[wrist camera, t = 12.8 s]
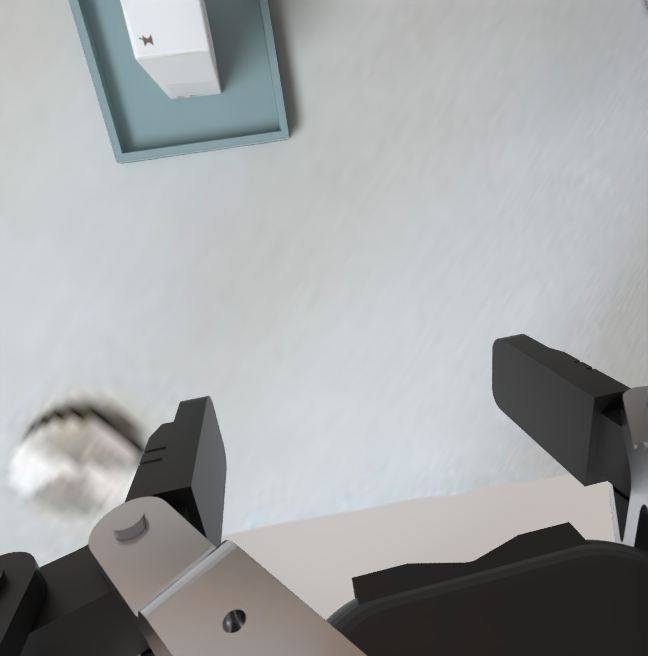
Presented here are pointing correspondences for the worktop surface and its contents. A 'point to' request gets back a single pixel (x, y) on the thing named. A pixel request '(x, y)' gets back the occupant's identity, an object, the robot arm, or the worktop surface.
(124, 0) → the skincare box
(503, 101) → the worktop surface
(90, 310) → the worktop surface
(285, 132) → the tray
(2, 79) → the worktop surface
